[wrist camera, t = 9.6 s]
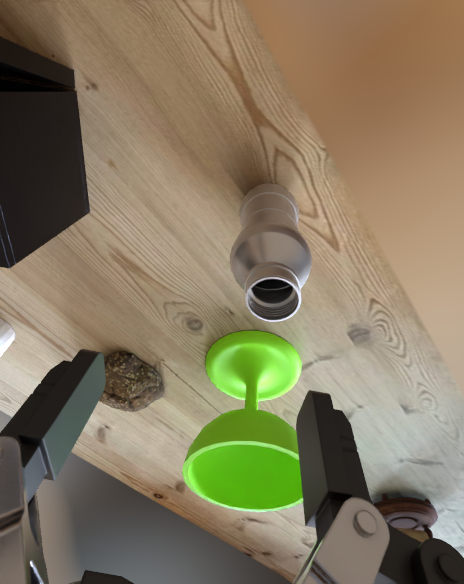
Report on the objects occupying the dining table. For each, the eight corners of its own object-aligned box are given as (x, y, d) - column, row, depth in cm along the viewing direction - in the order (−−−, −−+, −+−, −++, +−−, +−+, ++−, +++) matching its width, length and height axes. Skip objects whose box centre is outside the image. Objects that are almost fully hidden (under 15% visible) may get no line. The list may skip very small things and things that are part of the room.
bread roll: (83, 378, 57) (68, 400, 53) (115, 342, 51) (102, 364, 47) (141, 411, 61) (133, 434, 57) (178, 380, 55) (171, 404, 51)
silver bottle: (275, 242, 40) (285, 352, 23) (230, 213, 38) (205, 309, 21) (308, 199, 36) (347, 290, 20) (259, 166, 35) (257, 235, 18)
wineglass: (205, 395, 57) (185, 505, 42) (204, 326, 48) (177, 434, 33) (294, 402, 56) (306, 517, 41) (308, 334, 47) (331, 448, 32)
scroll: (443, 494, 68) (502, 625, 51) (418, 523, 76) (462, 645, 59) (374, 486, 69) (411, 613, 52) (357, 516, 77) (383, 635, 60)
